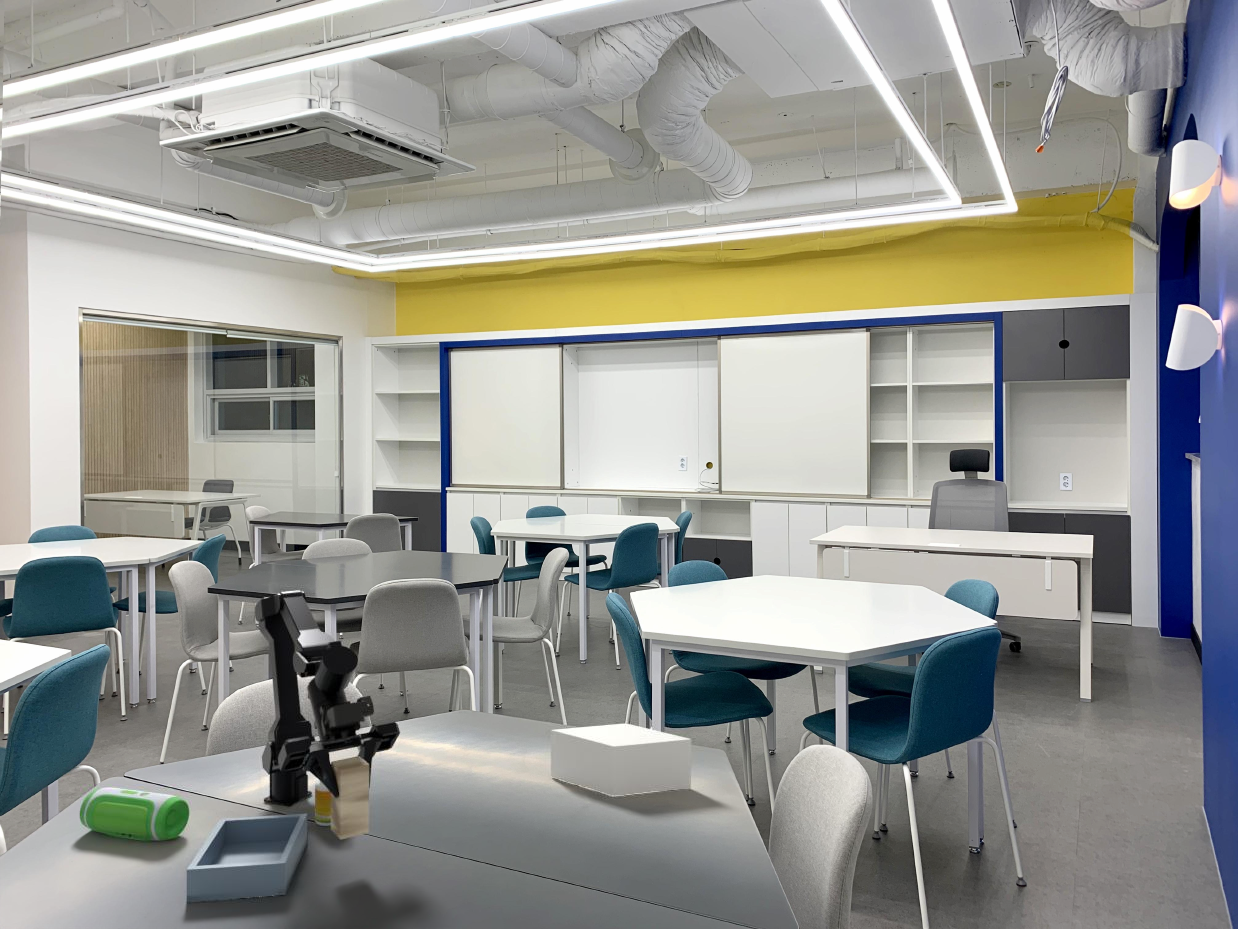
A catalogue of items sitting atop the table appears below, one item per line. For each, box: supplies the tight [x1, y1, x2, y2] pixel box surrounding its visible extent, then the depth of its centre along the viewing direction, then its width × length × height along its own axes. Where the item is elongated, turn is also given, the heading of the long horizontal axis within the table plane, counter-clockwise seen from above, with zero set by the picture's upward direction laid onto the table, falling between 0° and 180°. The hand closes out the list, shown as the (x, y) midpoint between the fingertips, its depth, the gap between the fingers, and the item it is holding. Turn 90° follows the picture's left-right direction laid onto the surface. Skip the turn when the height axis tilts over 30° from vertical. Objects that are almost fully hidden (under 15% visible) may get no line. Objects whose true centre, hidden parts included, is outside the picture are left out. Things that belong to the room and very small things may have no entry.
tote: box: [186, 813, 308, 904], centre depth 140 cm, size 18×14×5 cm
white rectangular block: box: [550, 723, 692, 795], centre depth 178 cm, size 14×29×10 cm, turn 80°
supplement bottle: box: [314, 778, 331, 827], centre depth 159 cm, size 5×5×10 cm
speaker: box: [79, 786, 190, 842], centre depth 153 cm, size 18×7×8 cm, turn 75°
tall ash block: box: [330, 755, 370, 840], centre depth 141 cm, size 5×5×11 cm
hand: (352, 792), depth 139 cm, fingers closed on tall ash block, 5 cm apart
